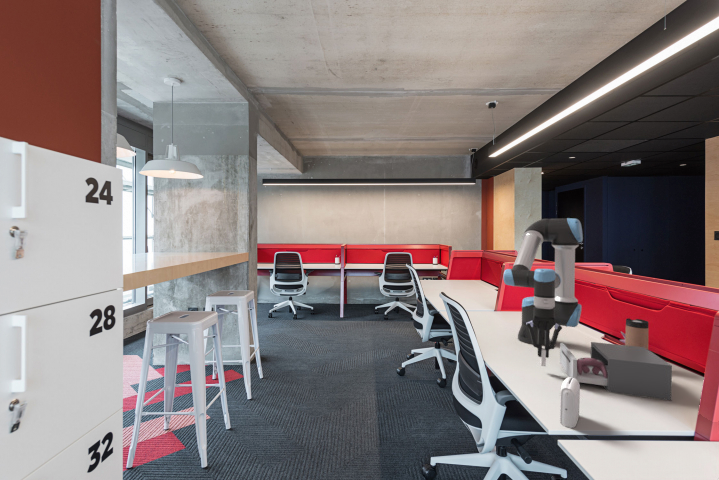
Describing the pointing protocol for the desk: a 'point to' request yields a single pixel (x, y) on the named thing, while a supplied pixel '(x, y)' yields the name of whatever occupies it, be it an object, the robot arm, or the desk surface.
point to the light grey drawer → (571, 369)
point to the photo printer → (569, 402)
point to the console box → (634, 370)
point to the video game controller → (596, 364)
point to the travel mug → (636, 333)
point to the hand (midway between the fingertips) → (542, 364)
